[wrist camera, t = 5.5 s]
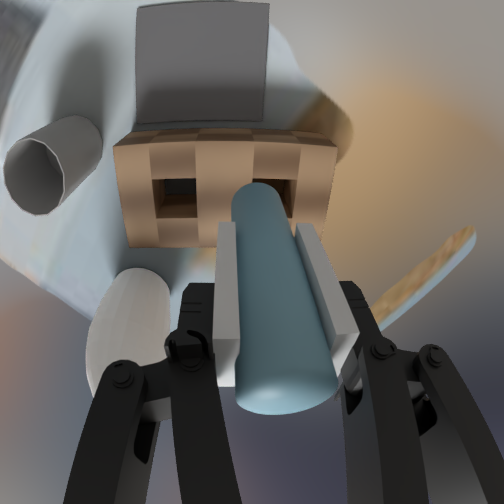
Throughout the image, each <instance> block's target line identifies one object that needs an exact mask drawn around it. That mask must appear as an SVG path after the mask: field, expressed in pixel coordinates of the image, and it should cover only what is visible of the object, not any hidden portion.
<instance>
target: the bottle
mask: <svg viewBox="0 0 504 504" xmlns="http://www.w3.org/2000/svg"><path fill="white" fill-rule="evenodd" d="M169 334H170V291H169V288H168V286H167V284H166V283H165V282H164V280H163V279H162V278H161V277H160V276H159V275H157V274H156V273H154V272H153V271H150V270H147V269H144V268H131V269H126V270H124V271H122V272H121V273H119V274H118V276H117V277H116V278H115V280H114V281H113V283H112V284H111V286H110V287H109V289H108V290H107V292H106V294H105V295H104V297H103V298H102V300H101V302H100V305H99V307H98V309H97V311H96V314H95V316H94V318H93V321H92V323H91V325H90V328H89V332H88V339H87V345H86V373H87V378H88V382H89V384H90V388H91V392H92V395H93V398H94V395H95V393H96V390H97V387H98V384H99V382H100V379H101V376H102V374H103V372H104V370H105V369H106V367H107V366H108V365H110V364H111V363H112V362H115V361H118V360H131V361H133V362H136V363H137V364H138V365H139V366H144V365H149V364H153V363H157V362H160V361H162V360H164V359H165V358H167V356H166V353H165V349H164V343H165V339H166V338H167V337H168V335H169Z"/></svg>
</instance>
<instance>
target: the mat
mask: <svg viewBox="0 0 504 504" xmlns="http://www.w3.org/2000/svg"><path fill="white" fill-rule="evenodd" d="M269 5H270V4H267V3H255V2H254V3H253V2H191V3H177V4H167V5H158V6H151V7H144V8H138V9H137V17H136V47H135V76H136V108H137V124H141V123H153V122H168V121H190V120H251V121H262V115H263V100H264V84H265V68H266V53H267V37H268V21H269Z"/></svg>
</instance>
